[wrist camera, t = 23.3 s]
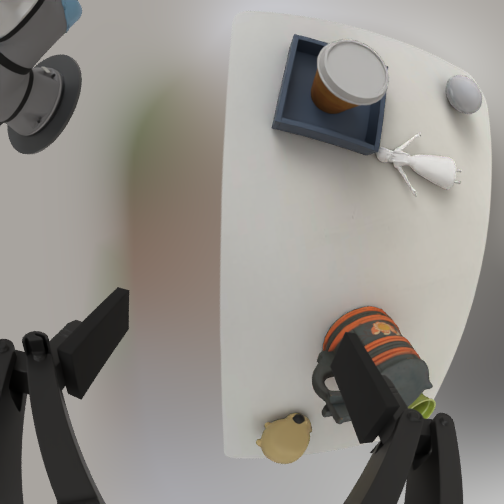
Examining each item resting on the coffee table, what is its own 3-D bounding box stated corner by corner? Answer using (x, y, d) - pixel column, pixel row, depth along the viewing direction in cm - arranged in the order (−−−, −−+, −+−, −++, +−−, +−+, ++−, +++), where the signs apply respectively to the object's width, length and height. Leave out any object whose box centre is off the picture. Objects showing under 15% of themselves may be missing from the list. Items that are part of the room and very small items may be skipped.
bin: (271, 128, 38) (274, 121, 34) (289, 47, 35) (294, 33, 30) (365, 155, 39) (378, 152, 35) (376, 75, 36) (388, 66, 31)
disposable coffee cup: (294, 71, 35) (310, 35, 24) (349, 70, 35) (379, 39, 24) (307, 126, 38) (330, 103, 26) (363, 122, 37) (400, 103, 26)
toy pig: (289, 423, 55) (328, 433, 48) (260, 460, 47) (299, 476, 40) (275, 400, 53) (317, 410, 45) (242, 440, 45) (284, 458, 37)
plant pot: (403, 373, 49) (421, 396, 41) (425, 381, 50) (442, 402, 42) (378, 403, 51) (391, 428, 42) (401, 409, 52) (415, 431, 43)
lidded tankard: (294, 377, 48) (315, 459, 28) (300, 309, 45) (334, 385, 25) (383, 366, 48) (427, 430, 29) (398, 302, 45) (462, 357, 25)
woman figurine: (462, 208, 37) (378, 187, 37) (448, 206, 41) (368, 187, 41) (466, 145, 34) (383, 115, 35) (452, 147, 38) (373, 121, 39)
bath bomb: (441, 112, 37) (467, 104, 29) (435, 76, 35) (458, 64, 28) (467, 120, 37) (492, 115, 29) (461, 86, 35) (484, 78, 28)
